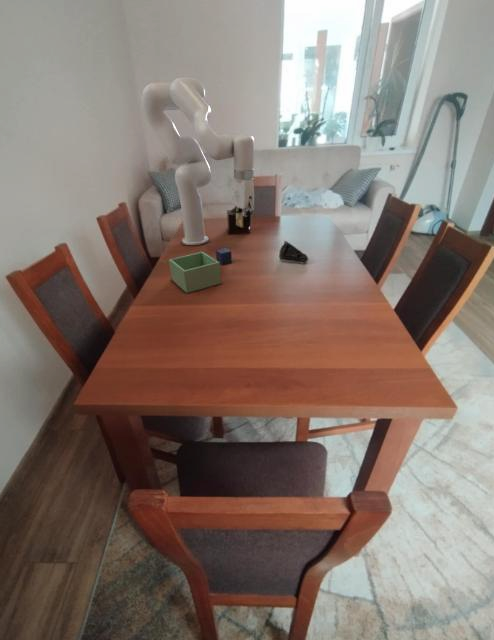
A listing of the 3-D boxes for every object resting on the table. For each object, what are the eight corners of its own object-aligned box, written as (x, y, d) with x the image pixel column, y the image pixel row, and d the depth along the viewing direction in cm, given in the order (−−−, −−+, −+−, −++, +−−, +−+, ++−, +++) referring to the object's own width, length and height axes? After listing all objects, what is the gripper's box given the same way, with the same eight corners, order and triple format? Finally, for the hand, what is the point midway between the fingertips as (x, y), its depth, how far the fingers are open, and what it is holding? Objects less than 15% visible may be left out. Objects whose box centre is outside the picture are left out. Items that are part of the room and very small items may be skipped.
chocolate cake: (313, 259, 134) (297, 234, 133) (310, 260, 128) (292, 234, 127) (294, 273, 139) (278, 250, 138) (290, 275, 133) (273, 250, 132)
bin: (172, 280, 123) (168, 259, 118) (204, 271, 128) (202, 251, 123) (186, 293, 114) (183, 271, 109) (221, 283, 118) (219, 262, 114)
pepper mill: (251, 233, 163) (250, 193, 152) (228, 235, 163) (227, 194, 152) (247, 225, 175) (246, 187, 164) (226, 226, 175) (224, 188, 164)
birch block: (236, 224, 138) (235, 213, 136) (245, 223, 140) (245, 211, 137) (241, 227, 135) (241, 215, 132) (251, 225, 137) (251, 214, 134)
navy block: (216, 261, 136) (215, 250, 133) (226, 259, 137) (225, 248, 134) (221, 264, 132) (221, 253, 130) (231, 262, 134) (231, 251, 131)
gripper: (224, 173, 130) (225, 221, 142) (247, 179, 119) (246, 231, 131) (240, 171, 133) (240, 218, 145) (264, 177, 122) (262, 228, 133)
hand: (243, 224), depth 138 cm, fingers closed on birch block, 4 cm apart
